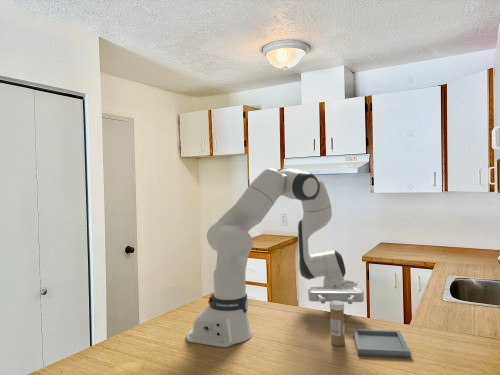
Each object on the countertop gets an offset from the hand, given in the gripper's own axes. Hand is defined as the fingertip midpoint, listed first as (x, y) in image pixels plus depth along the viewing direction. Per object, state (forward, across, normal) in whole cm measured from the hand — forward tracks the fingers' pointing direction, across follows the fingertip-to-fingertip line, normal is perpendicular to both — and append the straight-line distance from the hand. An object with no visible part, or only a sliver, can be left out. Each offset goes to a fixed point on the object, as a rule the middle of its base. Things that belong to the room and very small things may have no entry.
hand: (336, 301), depth 131 cm
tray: (+12, +13, +10) cm, 20 cm away
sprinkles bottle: (+12, 0, +10) cm, 16 cm away
